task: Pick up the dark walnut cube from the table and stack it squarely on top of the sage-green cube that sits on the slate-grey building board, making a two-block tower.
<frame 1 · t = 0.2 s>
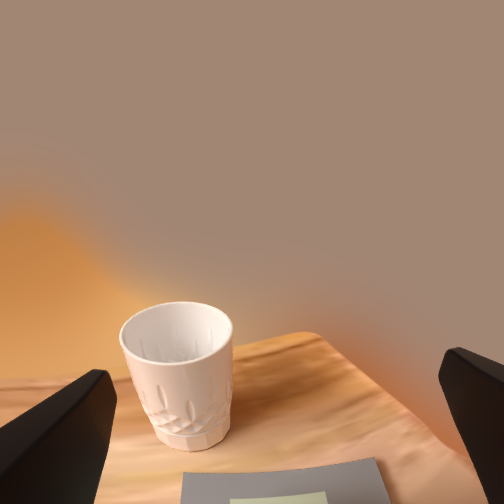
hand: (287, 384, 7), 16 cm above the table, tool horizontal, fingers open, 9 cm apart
white cup: (191, 424, 25), on the table
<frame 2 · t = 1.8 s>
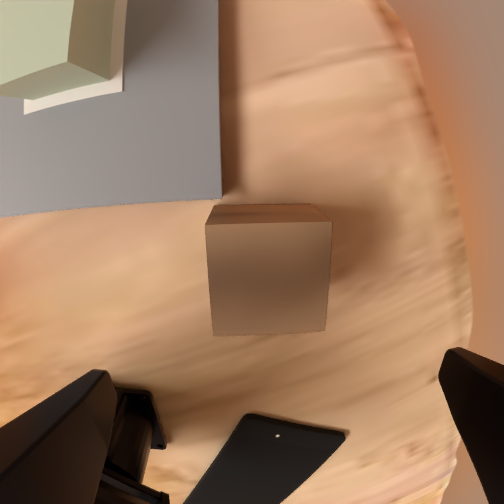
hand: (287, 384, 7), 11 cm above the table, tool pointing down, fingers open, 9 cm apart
sage cube: (70, 48, 12), point 1 cm above the table, touching building board
building board: (93, 64, 14), on the table
walnut cube: (262, 249, 18), on the table
cell phone: (252, 475, 25), on the table
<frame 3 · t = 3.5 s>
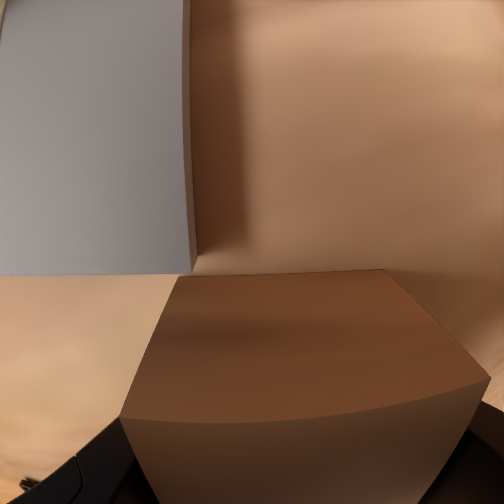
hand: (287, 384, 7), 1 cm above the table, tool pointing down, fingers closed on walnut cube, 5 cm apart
walnut cube: (282, 360, 8), on the table, touching gripper
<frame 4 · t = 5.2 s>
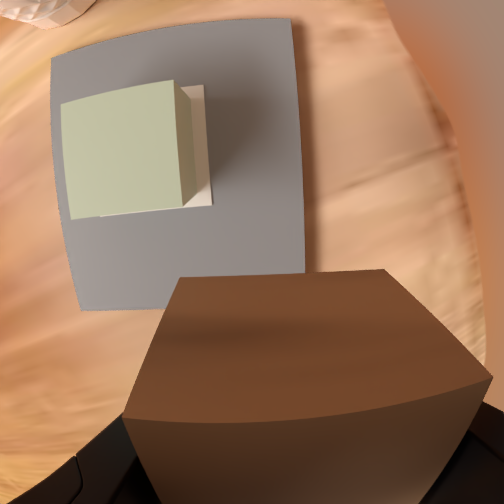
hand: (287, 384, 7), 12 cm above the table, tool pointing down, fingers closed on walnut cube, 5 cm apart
sage cube: (146, 151, 16), point 1 cm above the table, touching building board
building board: (170, 166, 17), on the table
walnut cube: (284, 360, 8), point 11 cm above the table, touching gripper
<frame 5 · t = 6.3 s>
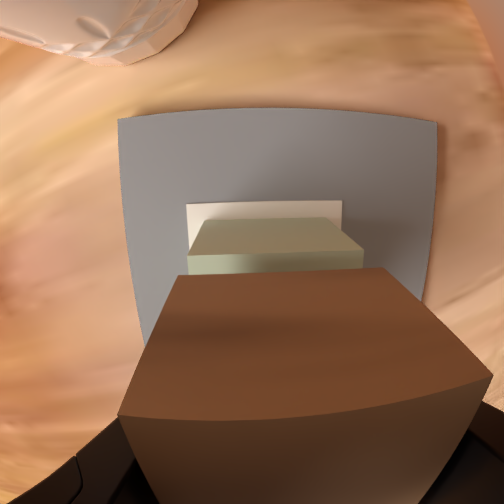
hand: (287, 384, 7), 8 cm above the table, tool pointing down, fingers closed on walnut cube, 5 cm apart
sage cube: (266, 275, 14), point 1 cm above the table, touching building board
building board: (285, 285, 15), on the table
walnut cube: (282, 358, 8), point 7 cm above the table, touching gripper
white cup: (131, 7, 11), on the table
when the fingers open (8 cm above the table, at t = 7.0 s): walnut cube drops 1 cm, resting on sage cube.
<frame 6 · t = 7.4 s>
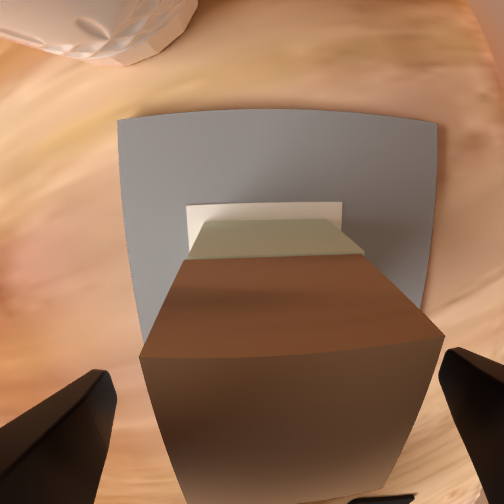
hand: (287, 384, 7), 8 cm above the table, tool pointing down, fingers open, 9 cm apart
sage cube: (266, 277, 14), point 1 cm above the table, touching building board, walnut cube
building board: (285, 287, 15), on the table
walnut cube: (274, 334, 10), point 6 cm above the table, touching sage cube
white cup: (130, 8, 11), on the table
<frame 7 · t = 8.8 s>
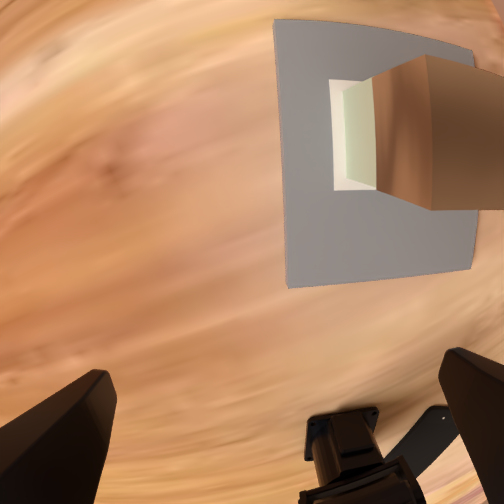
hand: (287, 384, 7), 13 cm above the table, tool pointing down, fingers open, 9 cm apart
sage cube: (384, 135, 17), point 1 cm above the table, touching building board, walnut cube
building board: (391, 152, 18), on the table
walnut cube: (423, 136, 12), point 6 cm above the table, touching sage cube
cell phone: (407, 456, 29), on the table
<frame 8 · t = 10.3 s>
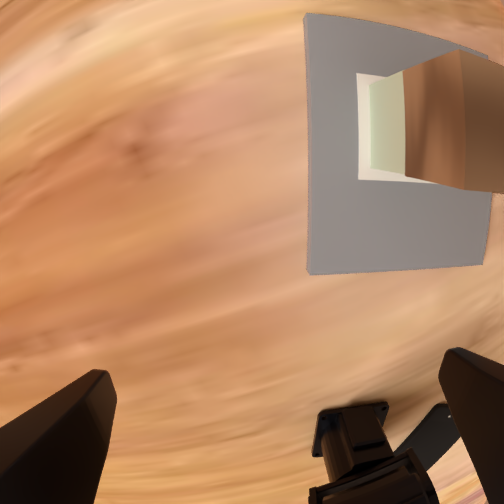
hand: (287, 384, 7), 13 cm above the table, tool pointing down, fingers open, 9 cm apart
sage cube: (406, 130, 17), point 1 cm above the table, touching building board, walnut cube
building board: (411, 147, 18), on the table
walnut cube: (447, 128, 13), point 6 cm above the table, touching sage cube
cell phone: (411, 455, 29), on the table
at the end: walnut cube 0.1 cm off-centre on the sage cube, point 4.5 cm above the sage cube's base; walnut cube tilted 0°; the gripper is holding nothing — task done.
